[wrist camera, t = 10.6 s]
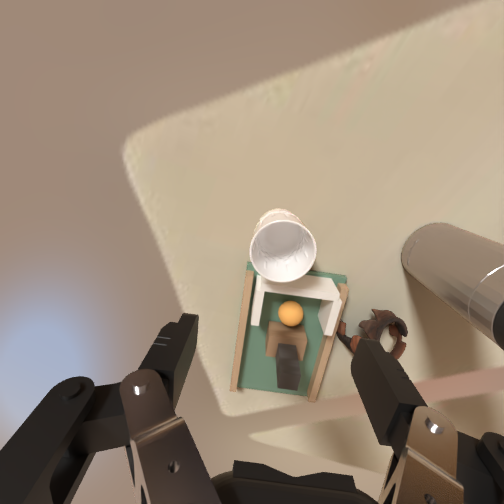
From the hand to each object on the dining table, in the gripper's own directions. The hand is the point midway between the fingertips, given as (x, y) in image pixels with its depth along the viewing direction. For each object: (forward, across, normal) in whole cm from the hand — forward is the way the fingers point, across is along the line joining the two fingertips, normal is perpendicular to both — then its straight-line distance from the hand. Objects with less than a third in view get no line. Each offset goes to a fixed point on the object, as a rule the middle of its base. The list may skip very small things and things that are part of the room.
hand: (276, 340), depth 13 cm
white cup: (+28, -2, +2) cm, 28 cm away
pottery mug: (+28, -20, +18) cm, 39 cm away
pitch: (+28, -6, +21) cm, 36 cm away
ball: (+25, -6, +15) cm, 30 cm away
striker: (+27, -6, +20) cm, 34 cm away
